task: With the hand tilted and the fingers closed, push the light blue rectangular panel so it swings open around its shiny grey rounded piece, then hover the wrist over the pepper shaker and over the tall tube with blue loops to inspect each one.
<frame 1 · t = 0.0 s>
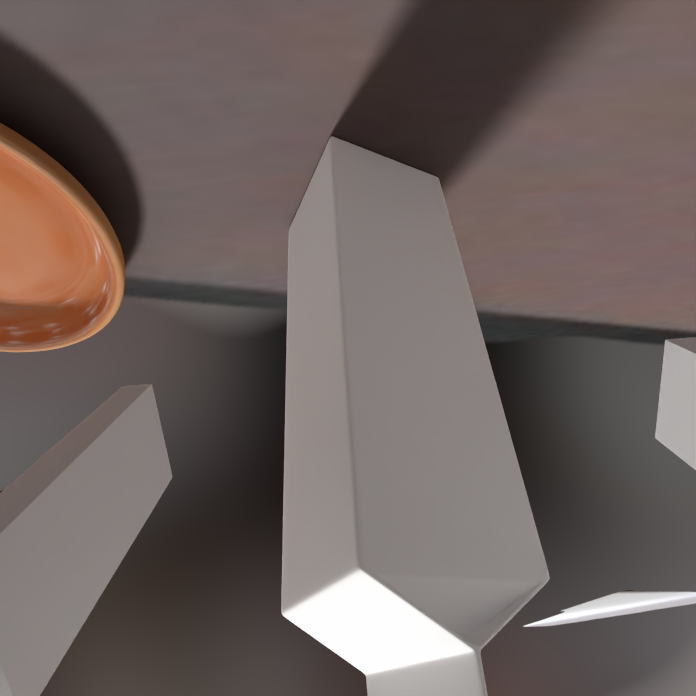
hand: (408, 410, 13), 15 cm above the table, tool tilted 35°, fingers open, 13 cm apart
milk: (360, 201, 26), on the table
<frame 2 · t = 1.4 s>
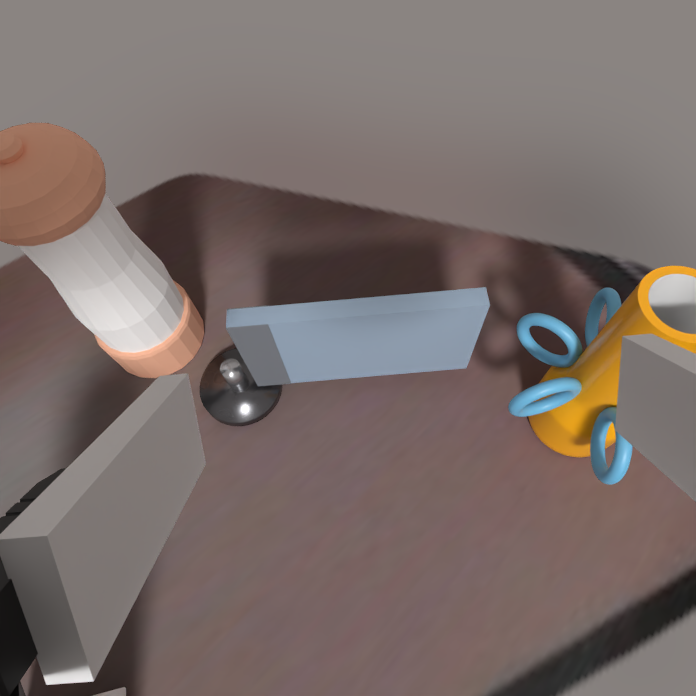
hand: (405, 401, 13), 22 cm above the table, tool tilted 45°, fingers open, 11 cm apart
shiny grey rounded piece: (242, 387, 38), on the table
pepper shaker: (160, 338, 40), on the table
light blue rectangular panel: (359, 342, 32), point 6 cm above the table, hinge at 0.0°
tube with blue loops: (568, 418, 35), on the table
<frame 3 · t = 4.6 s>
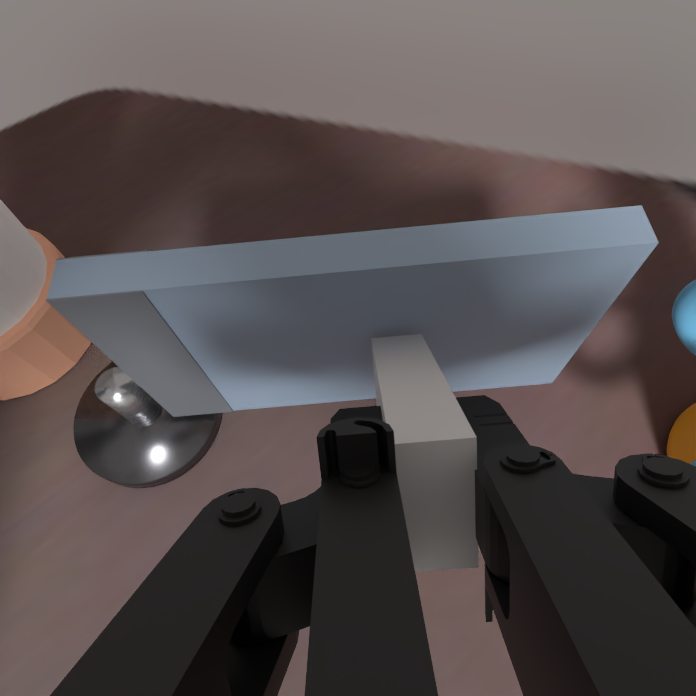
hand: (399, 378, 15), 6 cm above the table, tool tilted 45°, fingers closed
shiny grey rounded piece: (153, 417, 22), on the table
pepper shaker: (27, 332, 24), on the table
light blue rectangular panel: (354, 334, 16), point 6 cm above the table, hinge at 0.0°, touching gripper
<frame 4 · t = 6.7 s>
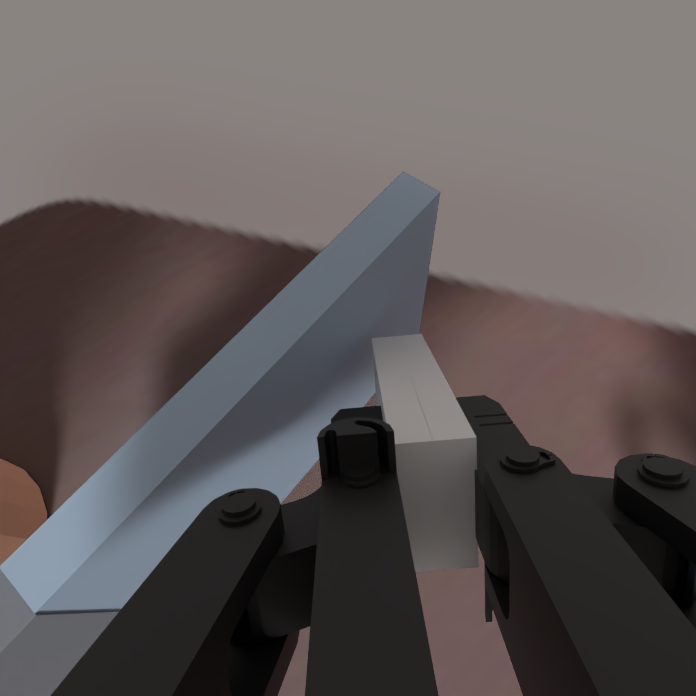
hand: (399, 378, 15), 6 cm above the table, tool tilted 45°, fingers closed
light blue rectangular panel: (258, 443, 15), point 6 cm above the table, hinge at 46.1°, touching gripper
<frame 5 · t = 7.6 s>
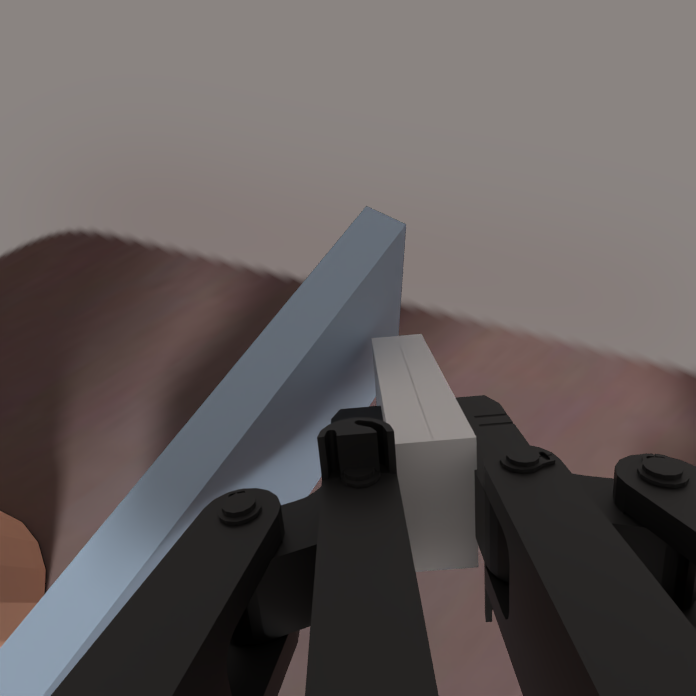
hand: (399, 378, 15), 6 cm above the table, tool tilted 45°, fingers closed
light blue rectangular panel: (243, 496, 14), point 6 cm above the table, hinge at 52.4°, touching gripper
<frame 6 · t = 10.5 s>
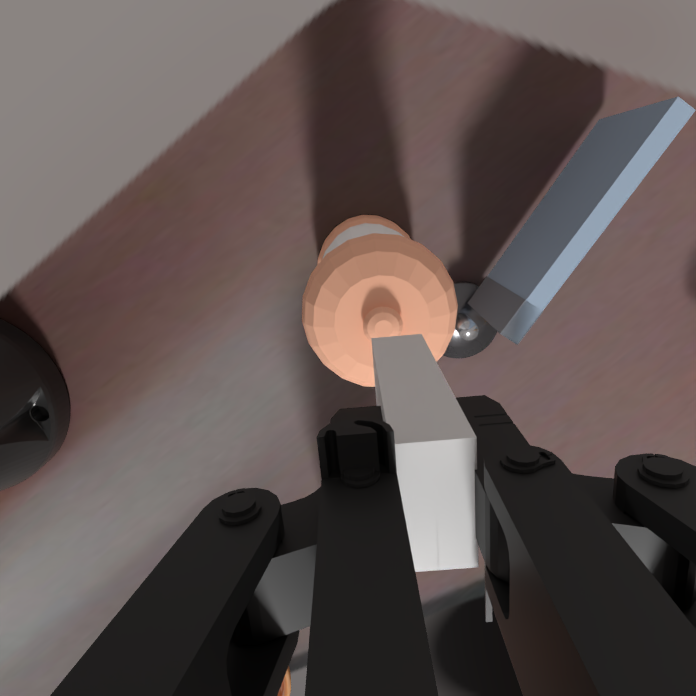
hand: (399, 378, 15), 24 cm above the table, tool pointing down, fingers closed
shiny grey rounded piece: (458, 319, 40), on the table
pepper shaker: (366, 263, 38), on the table
light blue rectangular panel: (560, 224, 32), point 6 cm above the table, hinge at 52.5°
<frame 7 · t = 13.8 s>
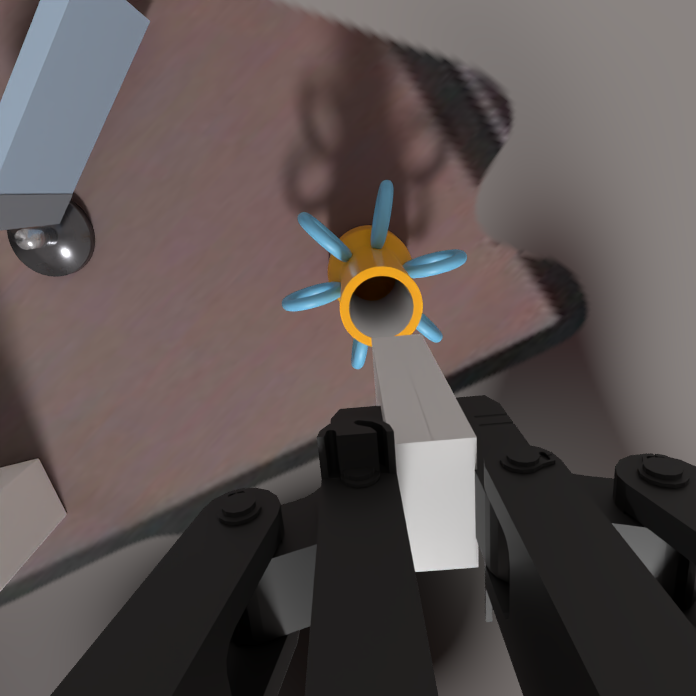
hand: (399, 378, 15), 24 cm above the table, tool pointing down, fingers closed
shiny grey rounded piece: (54, 235, 38), on the table
light blue rectangular panel: (59, 113, 30), point 6 cm above the table, hinge at 52.5°
tube with blue loops: (367, 264, 39), on the table
milk: (24, 492, 45), on the table
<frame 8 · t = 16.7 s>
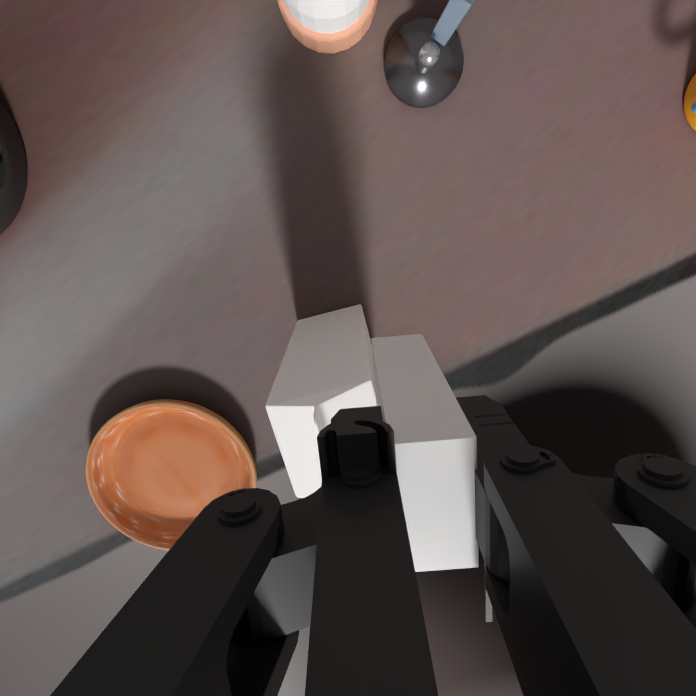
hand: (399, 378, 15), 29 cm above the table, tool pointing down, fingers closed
shiny grey rounded piece: (422, 65, 39), on the table
pepper shaker: (328, 0, 38), on the table
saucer: (181, 464, 50), on the table
milk: (337, 341, 46), on the table
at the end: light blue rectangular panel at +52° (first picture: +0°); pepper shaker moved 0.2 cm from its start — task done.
